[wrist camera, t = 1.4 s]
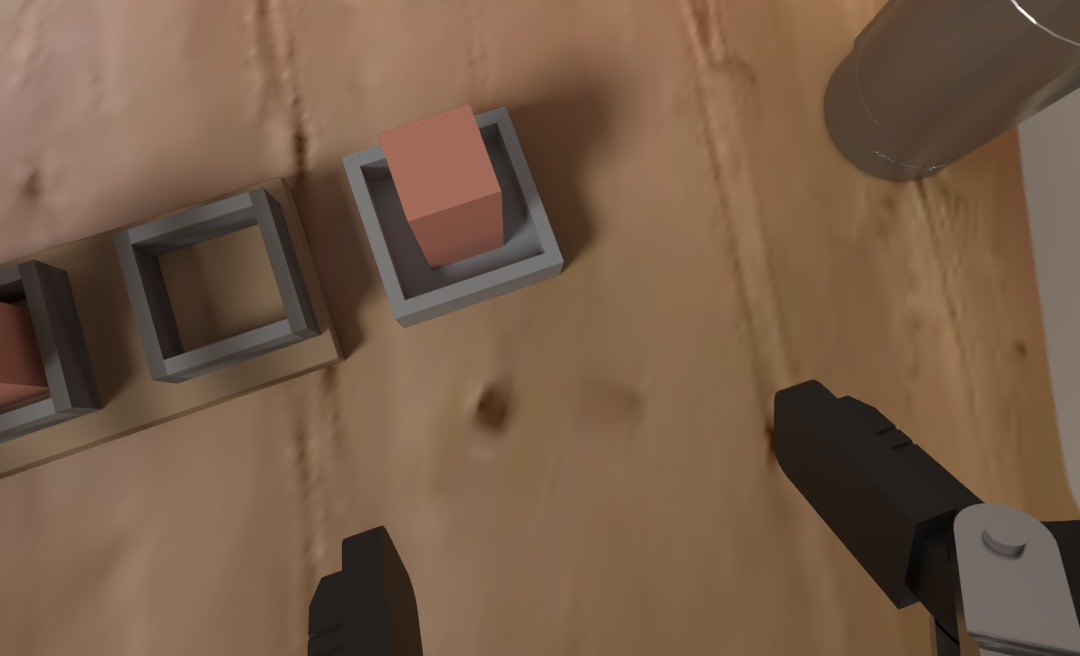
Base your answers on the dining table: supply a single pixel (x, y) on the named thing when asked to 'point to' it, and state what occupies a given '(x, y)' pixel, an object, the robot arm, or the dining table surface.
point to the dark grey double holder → (165, 321)
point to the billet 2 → (446, 186)
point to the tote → (473, 279)
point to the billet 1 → (19, 357)
